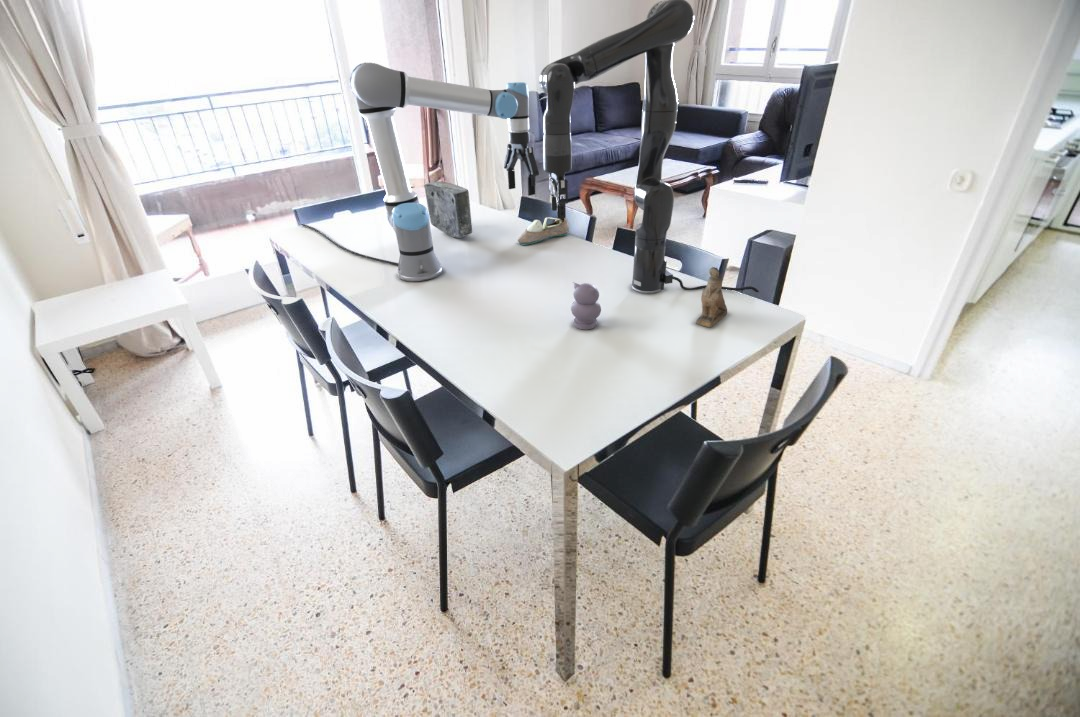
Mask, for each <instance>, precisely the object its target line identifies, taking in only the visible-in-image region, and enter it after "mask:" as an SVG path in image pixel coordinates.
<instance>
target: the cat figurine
mask: <svg viewBox="0 0 1080 717" xmlns="http://www.w3.org/2000/svg"><path fill="white" fill-rule="evenodd" d="M572 284H573V288H574V290H573V298H574V301H573V302H572V304H571V306H570V312H571V314H572V316H573V317H574V318H573V326H574V327H575V328H577V329H578V330H579V329H580V330H585V331H586V330H592V329H594V328H596V327H597V324H598V319H597V318H598V317H600V315H601V312H602V307H601V304H600V303H599V302H598V300H599V298H600V291H599V290H598V287H596V286H595V285H593V284H591V283H589V282H588V283H587V282H583V283H580V284H579V283H577V282H575V281H573V282H572Z"/></svg>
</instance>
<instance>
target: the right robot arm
mask: <svg viewBox="0 0 1080 717" xmlns="http://www.w3.org/2000/svg"><path fill="white" fill-rule="evenodd" d="M694 20H695V13H694V8H693V7H692V5H691V3H690V2H688V1H687V0H660V1H657V2H656V3H654V4H653V5H652V6H651V7H650V9H649V10H648V13H647V15H646V18H645V20H643V21H642V22H640V23H638V24H635V25H634V26H632V27H629V28H626V29H624V30H621V31H618V32H616V33H613V34H611V35H607V36H605V37H604V38H600V39H599V40H597V41H595V42H593V43H590V44H589V45H587V46H585V47H583V48H581V49H580V50H577V52H575V53H572V54H569V55H566V56H565V57H562V58H560V59H557V60H554V61H552V62H550V63H548V64H547V65H545V67H543V69H541V72H540V73H539V77H538V79H539V80H538V84H539V87H540V89H541V90H542V91H543V93H544V94H546V109H545V110H544V111H543V116H542V117H543V118H542V120H543V122H542V123H543V124H542V125H543V126H542V128H543V138H542V139H543V140H542V157H543V158H542V159H543V161H542V162H543V171H544V172H545V173H548V182H549V183H548V186H549V189H548V192H549V196H550V197H551V199H550V201H551V210H552V211H553V212H554V211H556V217H557V219H563V218H566V217H567V216H566V205H567V204H568V203H569V199H568V198H569V197H568V191H569V190H568V179H567V178H565V173H569V172H571V171H572V169H573V140H572V122H571V121H572V118H571V115H572V114H571V113H572V108H573V102H574V95H575V85H578V84H580V83H583V82H589V81H591V80H594V79H595V78H598V77H600V76H602V75H604V74H606V73H607V72H610V71H611V70H613V69H615V68H617V67H618V66H620V65H622V64H624V63H626V62H628V61H631V60H632V59H634V58H637V57H638V56H640V55H643V54H644V55H645V67H644V68H645V69H644V83H643V99H642V106H641V107H642V110H641V123H640V140H639V141H640V142H639V155H638V156H639V158H638V166H637V171H636V172H637V173H636V178H635V184H634V191H633V198H634V199H633V200H634V202H635V205H636V206H637V207H638V208H639V209H641V210H642V211H643V212H642V220H641V223H639V224H637V225H636V227H635V235H634V236H635V237H634V250H633V251H634V252H633V265H632V266H633V268H632V280H631V289H632V290H633V291H634V292H636V293H639V294H645V295H650V294H657V293H659V292H661V291H662V290H665V285H667V284H673V280H675V281H677V282H678V283H679V286H680V288H681V289H683V290H684V291H697V290H702V289H704V288H705V287H707V284H705V285H699V286H695V287H686V286H684V283H683V281H682V279H680V278H679V277H678V276H677V277H676V276H674V274H673V273H671V272H670V271H669V270H668V269H667V262H668V261H667V260H666V259H665V254H666V245H667V234H668V231H669V228H670V227H671V224H672V218H673V211H674V202H675V194H674V189H673V188H672V186H671V185H670V184H669V183H667V182H664V181H663V179H662V176H663V175H662V173H663V163H664V158H665V154H666V152H667V150H668V148H669V145H670V144H671V142H672V139H673V137H674V134H675V131H676V127H677V125H676V124H677V117H678V116H677V115H678V104H679V102H678V100H679V99H678V93H677V88H676V83H675V80H674V73H673V54H674V46H675V44H676V43H679V42H681V41H683V40H684V39H685V38H686V37H687V36H688V35H689V33H690V32H691V31H692V28H693V25H694ZM561 197H562V198H561ZM721 289H722V290H725V291H733V292H734V291H735V292H740V291H745V290H746V291H747V290H752V291H754V292H755V293H759V292H760V291H759V289H757V288H756V287H755V286H752V285H749V286H748V285H747V286H742V287H731V286H723V285H722V288H721ZM726 289H727V290H726Z"/></svg>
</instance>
